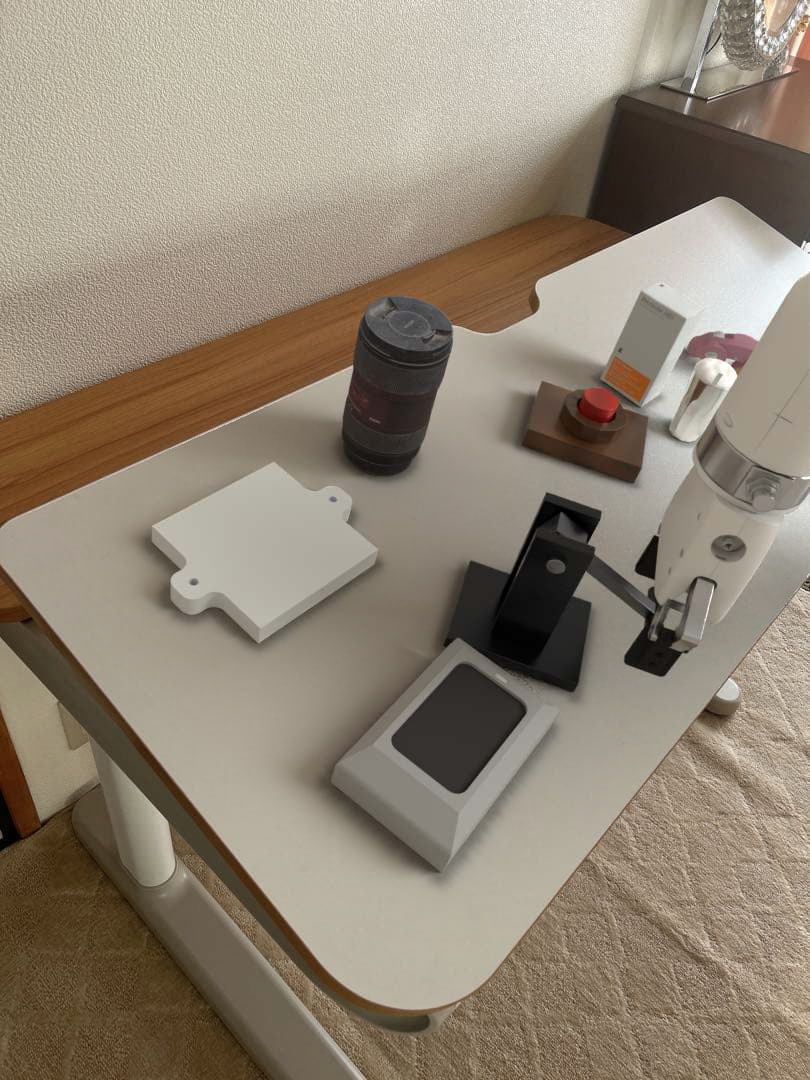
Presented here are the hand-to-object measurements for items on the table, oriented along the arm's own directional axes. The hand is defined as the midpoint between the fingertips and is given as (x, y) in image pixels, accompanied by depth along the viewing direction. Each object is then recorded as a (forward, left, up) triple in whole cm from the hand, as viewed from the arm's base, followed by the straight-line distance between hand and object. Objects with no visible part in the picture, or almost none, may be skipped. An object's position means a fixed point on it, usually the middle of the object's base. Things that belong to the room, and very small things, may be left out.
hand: (647, 619), depth 69 cm
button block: (+7, -28, -6) cm, 30 cm away
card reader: (+12, +13, -6) cm, 19 cm away
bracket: (+9, 0, -6) cm, 11 cm away
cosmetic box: (+3, -40, -6) cm, 41 cm away
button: (+7, -28, -3) cm, 29 cm away
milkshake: (-4, -35, -6) cm, 36 cm away
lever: (+5, 0, +2) cm, 5 cm away
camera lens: (+26, -15, -6) cm, 31 cm away
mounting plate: (+31, +1, -6) cm, 31 cm away
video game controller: (-8, -51, -6) cm, 52 cm away
